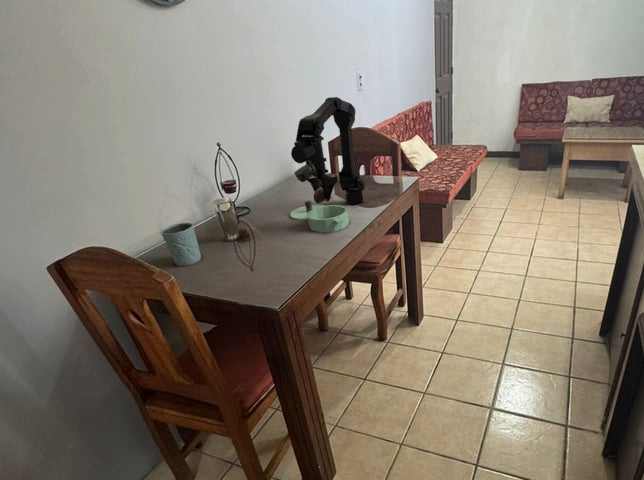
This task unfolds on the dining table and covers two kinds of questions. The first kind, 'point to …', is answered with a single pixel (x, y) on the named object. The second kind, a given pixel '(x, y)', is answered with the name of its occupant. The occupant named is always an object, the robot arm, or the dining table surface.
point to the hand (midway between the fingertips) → (322, 198)
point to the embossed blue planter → (182, 243)
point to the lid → (303, 211)
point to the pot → (328, 218)
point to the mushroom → (319, 196)
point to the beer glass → (227, 218)
